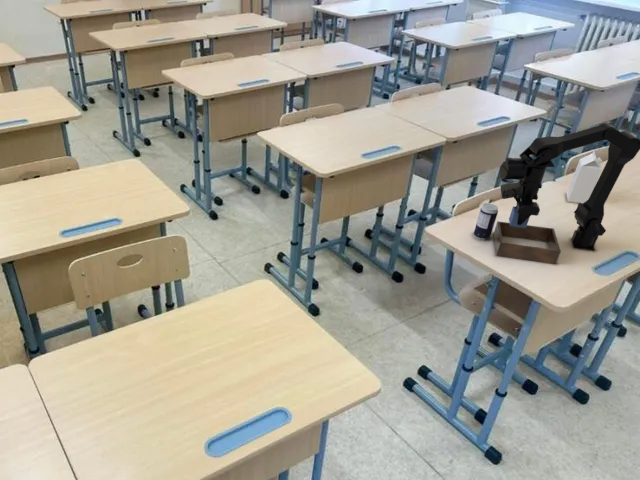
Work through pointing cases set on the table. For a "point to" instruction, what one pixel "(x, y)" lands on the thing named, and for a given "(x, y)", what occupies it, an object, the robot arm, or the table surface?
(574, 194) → the milk carton
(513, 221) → the block
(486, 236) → the beverage can
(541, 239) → the wooden tray
